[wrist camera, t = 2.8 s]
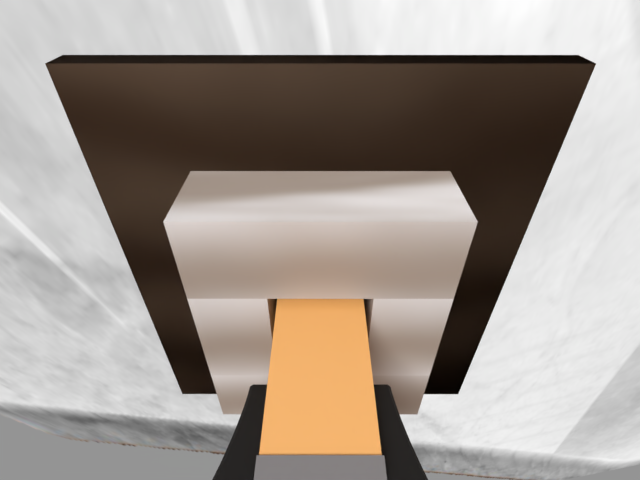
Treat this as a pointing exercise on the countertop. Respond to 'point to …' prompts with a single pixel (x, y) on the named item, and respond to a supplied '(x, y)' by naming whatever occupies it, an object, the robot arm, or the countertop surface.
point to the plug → (320, 395)
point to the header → (320, 196)
